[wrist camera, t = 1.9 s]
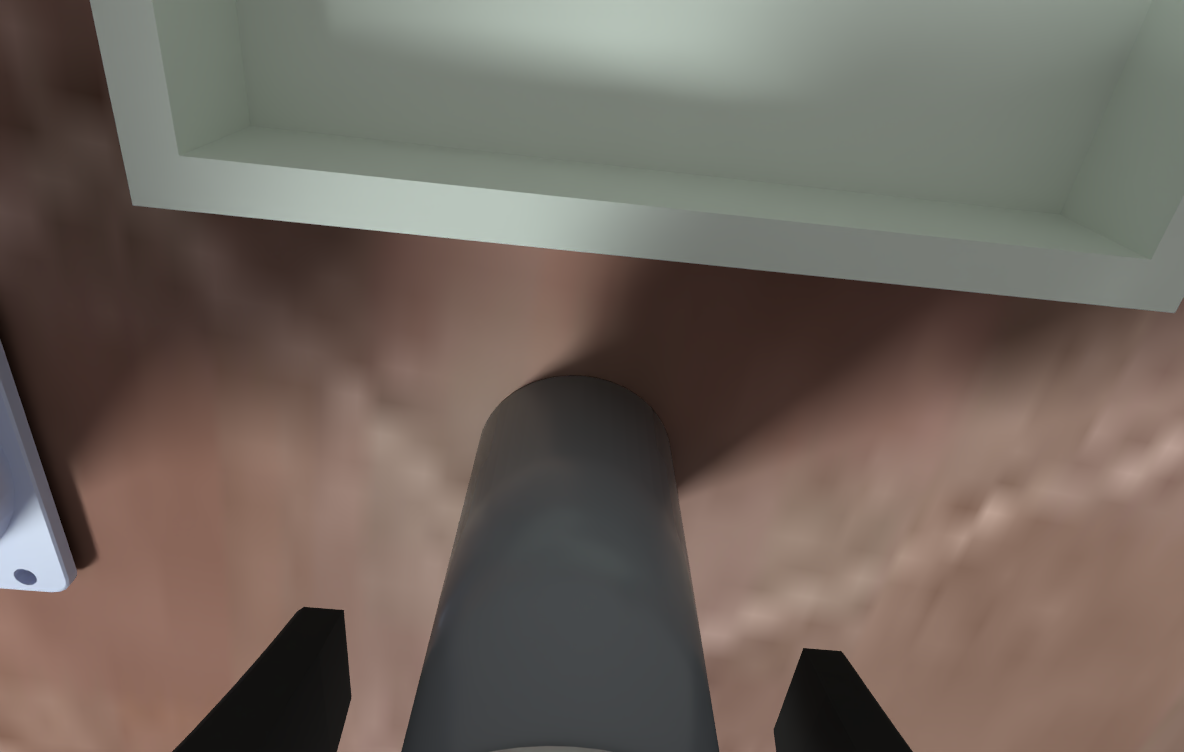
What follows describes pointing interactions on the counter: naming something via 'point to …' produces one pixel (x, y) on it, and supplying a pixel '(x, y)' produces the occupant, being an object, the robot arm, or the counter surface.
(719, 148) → the tray
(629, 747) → the cylinder
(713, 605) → the counter surface
